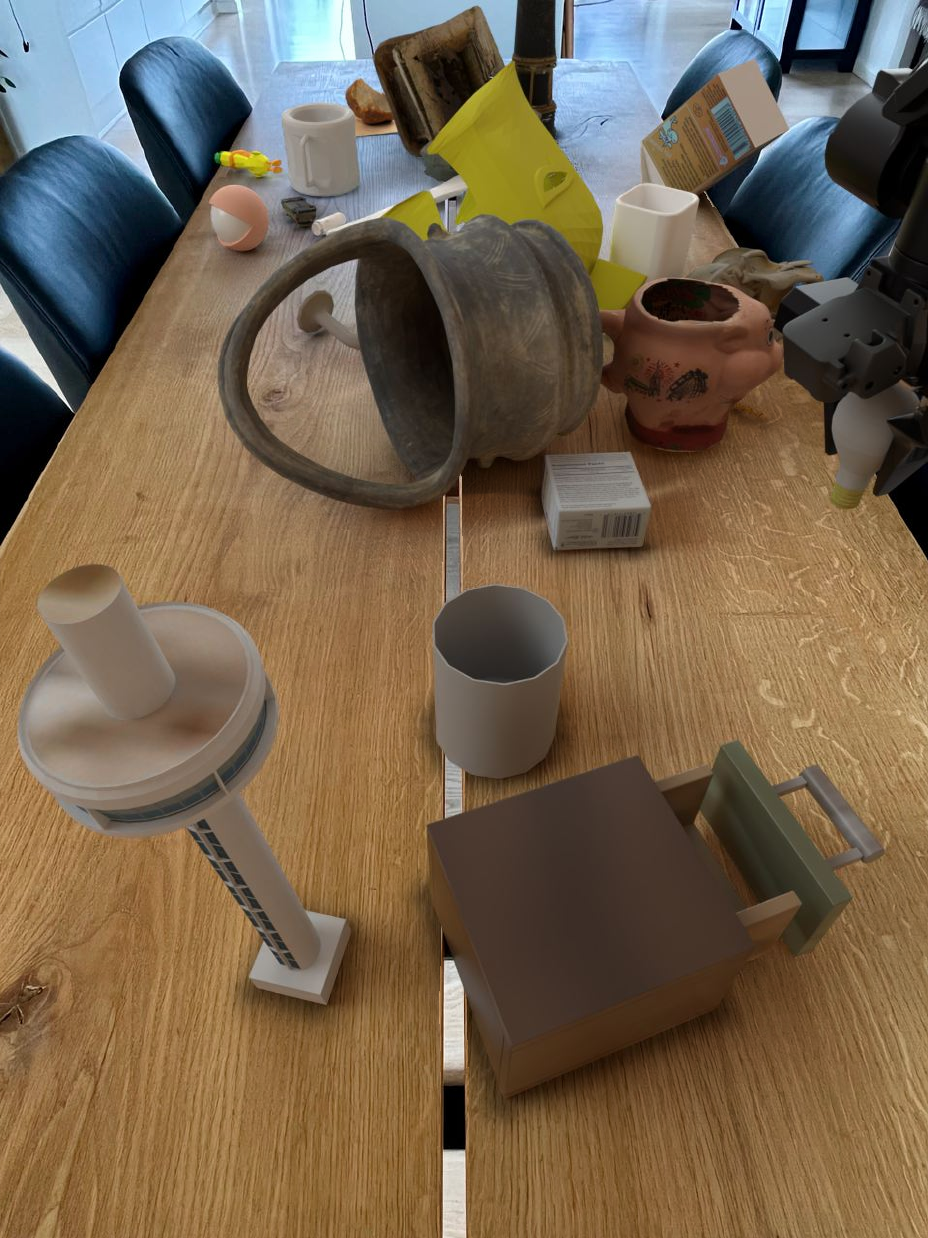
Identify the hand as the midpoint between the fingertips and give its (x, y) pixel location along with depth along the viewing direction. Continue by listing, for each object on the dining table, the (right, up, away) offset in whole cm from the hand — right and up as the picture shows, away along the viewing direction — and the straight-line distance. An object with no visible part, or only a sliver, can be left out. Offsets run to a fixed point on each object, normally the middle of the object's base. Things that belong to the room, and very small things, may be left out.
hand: (854, 473), depth 59 cm
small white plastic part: (-46, +46, +56) cm, 86 cm away
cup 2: (-8, +23, +39) cm, 46 cm away
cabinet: (-22, -29, -11) cm, 38 cm away
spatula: (-36, +50, +61) cm, 87 cm away
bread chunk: (-42, +78, +94) cm, 130 cm away
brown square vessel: (-28, +74, +70) cm, 106 cm away
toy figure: (-56, +60, +71) cm, 109 cm away
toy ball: (-58, +40, +55) cm, 89 cm away
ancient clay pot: (-20, +16, +18) cm, 31 cm away
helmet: (-32, +43, +32) cm, 63 cm away
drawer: (-13, -26, -9) cm, 31 cm away
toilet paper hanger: (-35, +25, +42) cm, 61 cm away
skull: (+6, +21, +28) cm, 36 cm away
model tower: (-37, -30, -12) cm, 49 cm away
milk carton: (+12, +60, +55) cm, 83 cm away
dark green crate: (-51, +49, +59) cm, 93 cm away
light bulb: (0, -2, +2) cm, 3 cm away
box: (-16, -3, +10) cm, 19 cm away
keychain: (0, +11, +28) cm, 30 cm away
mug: (-49, +56, +69) cm, 102 cm away
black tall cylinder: (-16, +75, +88) cm, 116 cm away
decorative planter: (-8, +9, +25) cm, 28 cm away
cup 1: (-26, -18, 0) cm, 31 cm away
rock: (-25, +60, +74) cm, 98 cm away
